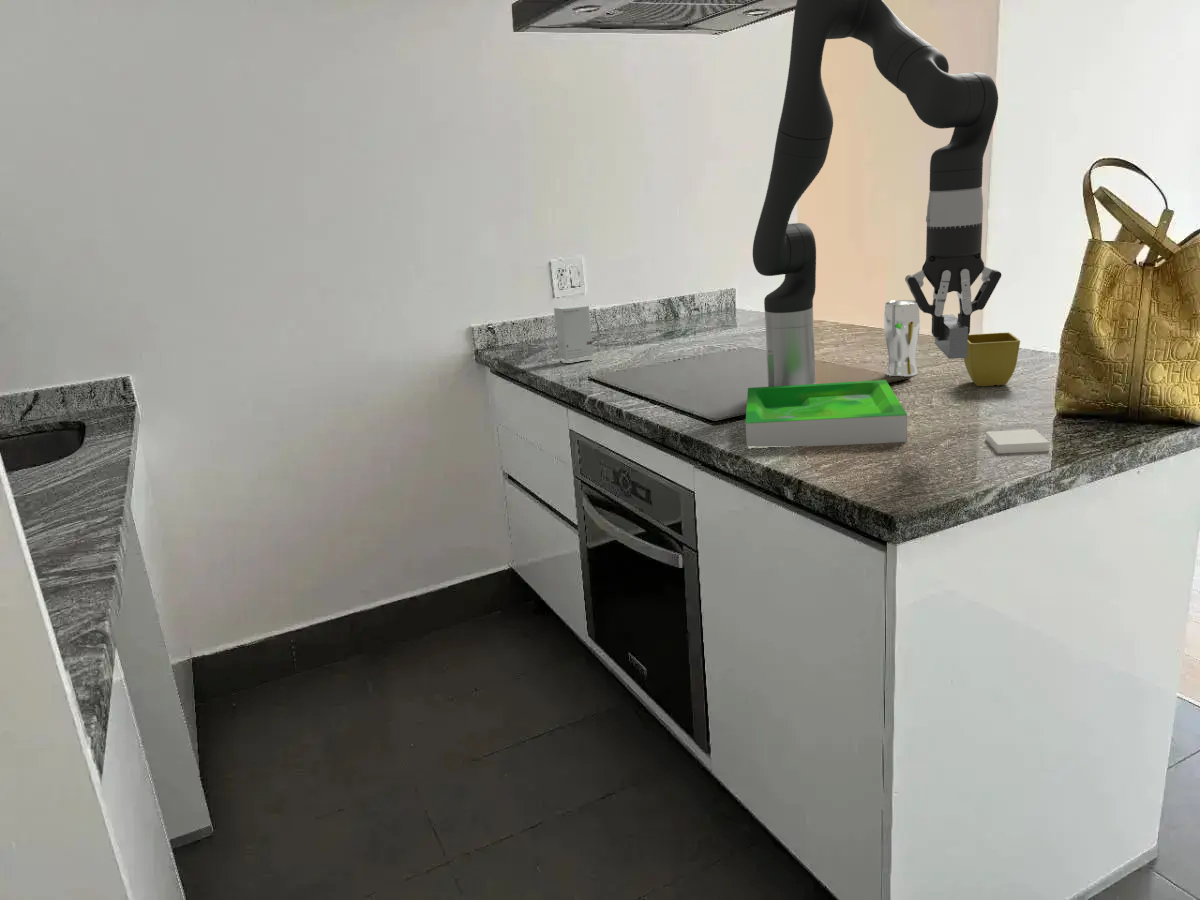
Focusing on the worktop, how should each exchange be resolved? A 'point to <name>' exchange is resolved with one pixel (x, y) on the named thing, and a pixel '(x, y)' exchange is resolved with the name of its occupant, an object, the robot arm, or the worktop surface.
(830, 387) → the tray
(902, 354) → the beer glass
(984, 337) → the flower pot
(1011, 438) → the tile
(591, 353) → the skincare box
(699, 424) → the worktop surface
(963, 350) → the gray rectangular block
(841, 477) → the worktop surface
